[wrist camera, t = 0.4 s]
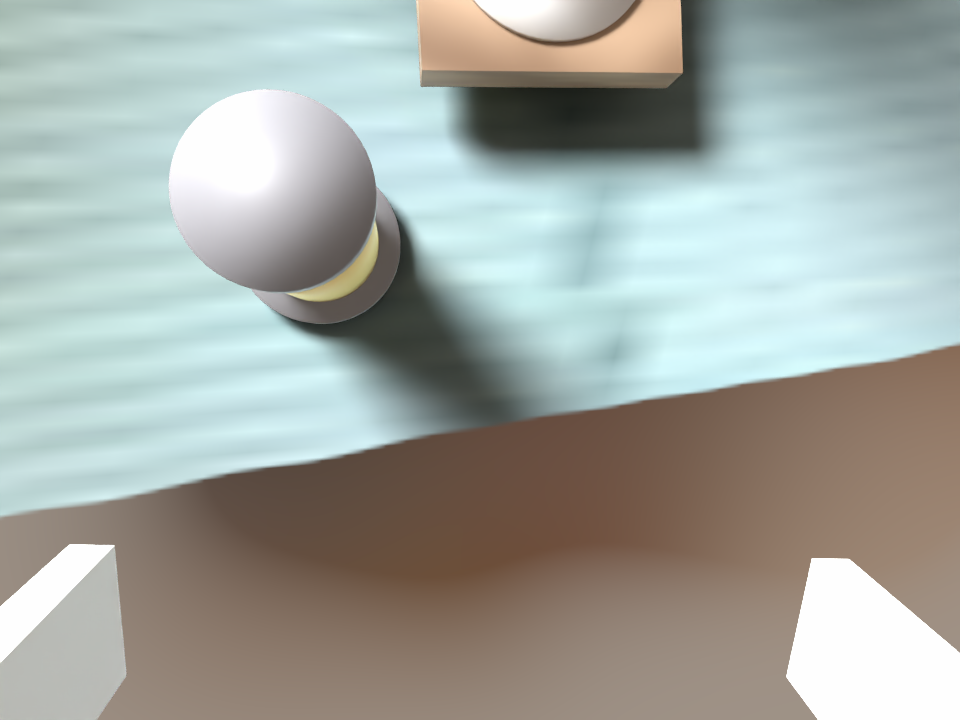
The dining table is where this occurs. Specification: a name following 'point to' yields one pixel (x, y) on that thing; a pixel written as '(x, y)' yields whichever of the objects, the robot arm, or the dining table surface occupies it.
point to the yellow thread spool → (285, 205)
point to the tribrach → (549, 43)
